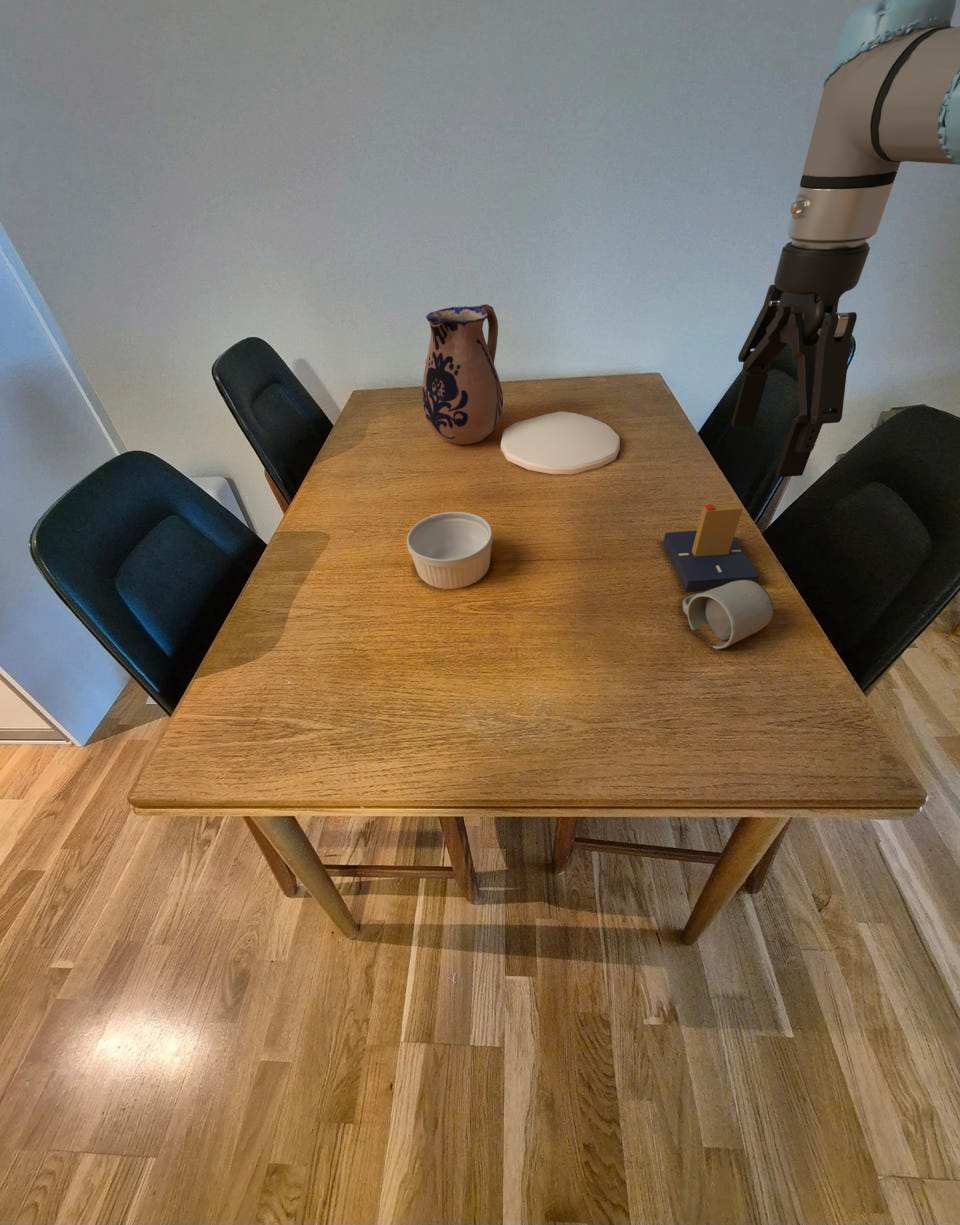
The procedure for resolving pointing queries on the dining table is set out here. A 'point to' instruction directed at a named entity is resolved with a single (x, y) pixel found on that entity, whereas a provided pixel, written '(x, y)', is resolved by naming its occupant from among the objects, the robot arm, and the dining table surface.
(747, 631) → the ceramic mug
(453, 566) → the ramekin
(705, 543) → the knob
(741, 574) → the panel
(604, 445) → the decorative plate
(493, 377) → the ceramic pitcher
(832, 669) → the dining table surface
